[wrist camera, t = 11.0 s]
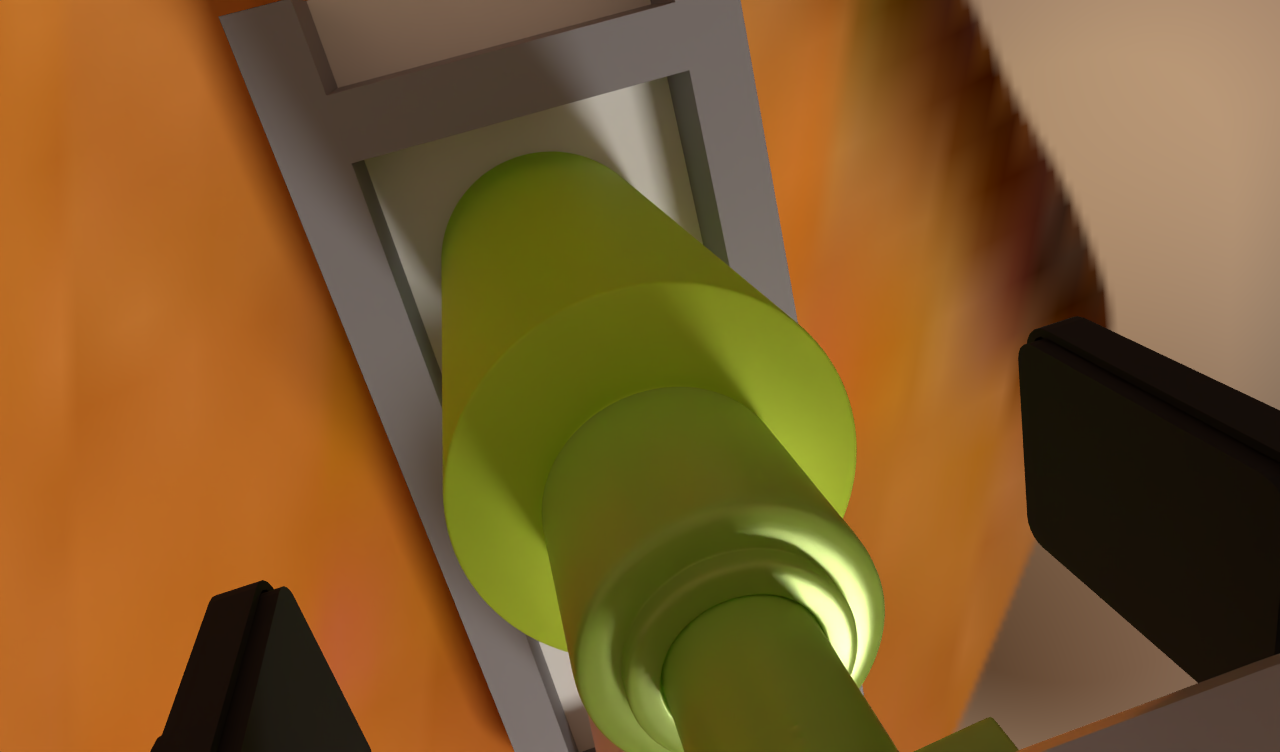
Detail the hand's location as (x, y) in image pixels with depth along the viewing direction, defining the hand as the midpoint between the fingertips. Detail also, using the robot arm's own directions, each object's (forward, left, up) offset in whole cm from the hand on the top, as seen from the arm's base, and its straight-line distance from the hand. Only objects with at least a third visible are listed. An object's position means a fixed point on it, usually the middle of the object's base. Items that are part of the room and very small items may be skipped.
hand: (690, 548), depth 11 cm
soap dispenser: (0, 0, -15) cm, 15 cm away
